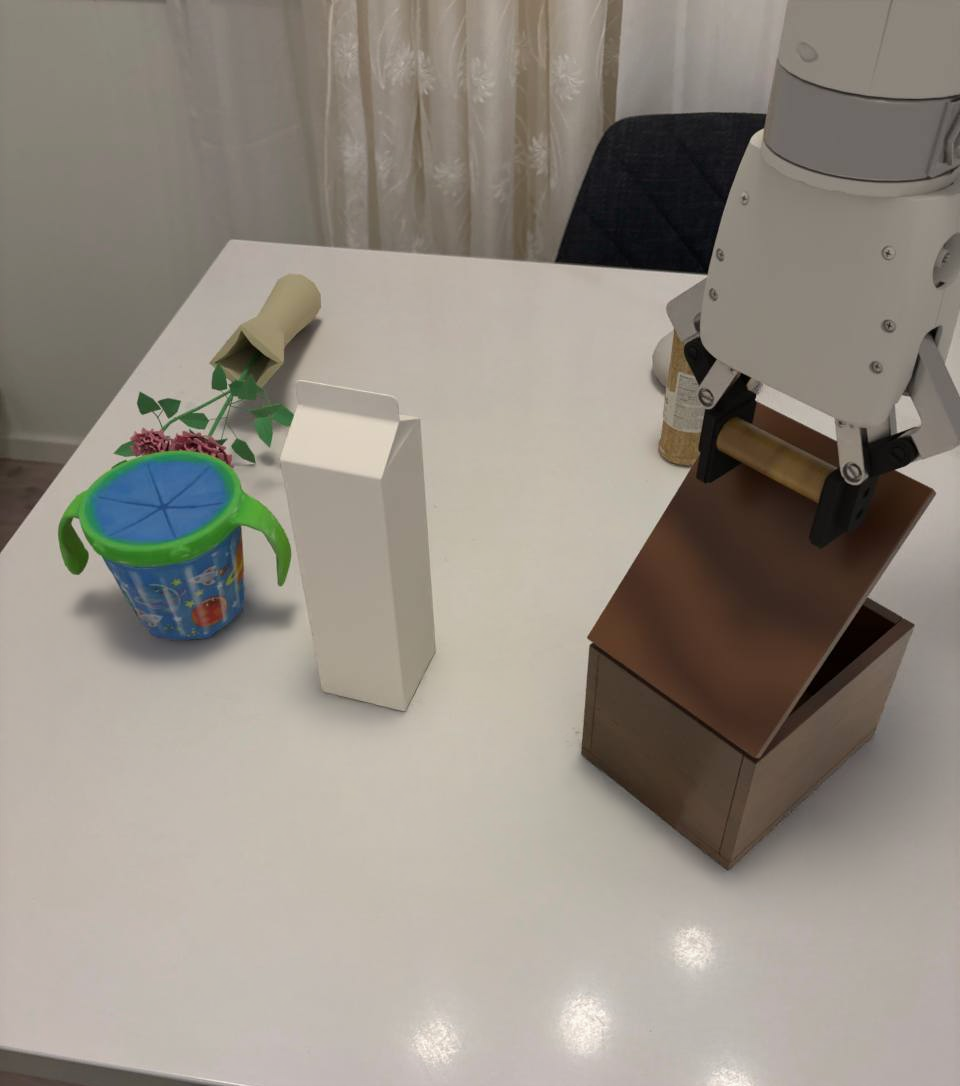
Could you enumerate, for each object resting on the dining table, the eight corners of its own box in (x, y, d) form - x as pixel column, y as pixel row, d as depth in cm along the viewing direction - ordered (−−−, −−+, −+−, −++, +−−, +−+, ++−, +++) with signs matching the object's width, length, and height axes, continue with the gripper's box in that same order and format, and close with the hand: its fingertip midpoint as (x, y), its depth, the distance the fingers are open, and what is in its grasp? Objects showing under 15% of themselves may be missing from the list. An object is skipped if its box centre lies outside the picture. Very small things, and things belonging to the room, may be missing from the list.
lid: (742, 396, 58) (703, 359, 53) (937, 493, 52) (912, 461, 47) (592, 640, 61) (542, 624, 56) (760, 758, 54) (720, 753, 50)
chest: (728, 639, 74) (750, 529, 67) (874, 734, 68) (915, 624, 61) (580, 753, 68) (588, 644, 61) (727, 871, 61) (755, 764, 54)
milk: (356, 632, 76) (316, 349, 60) (437, 650, 74) (418, 366, 59) (320, 694, 71) (268, 408, 56) (406, 714, 70) (376, 427, 54)
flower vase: (337, 400, 109) (249, 566, 80) (219, 361, 108) (86, 516, 79) (365, 287, 103) (282, 423, 74) (240, 245, 102) (105, 366, 73)
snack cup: (57, 645, 75) (10, 532, 68) (124, 548, 82) (87, 436, 75) (269, 678, 73) (243, 564, 65) (319, 575, 80) (300, 462, 72)
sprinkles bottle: (664, 432, 92) (682, 283, 82) (717, 441, 91) (742, 292, 81) (651, 462, 89) (669, 312, 79) (707, 473, 88) (731, 321, 78)
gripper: (1139, 160, 38) (972, 552, 51) (745, 46, 47) (687, 403, 60) (1035, 219, 34) (883, 626, 47) (630, 84, 43) (594, 456, 56)
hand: (774, 498), depth 53 cm, fingers closed on lid, 6 cm apart
